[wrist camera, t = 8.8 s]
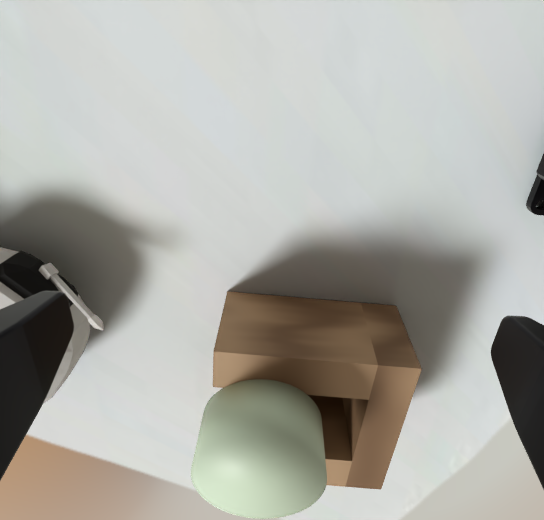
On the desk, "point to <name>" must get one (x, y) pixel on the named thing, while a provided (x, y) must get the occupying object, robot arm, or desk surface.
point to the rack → (327, 371)
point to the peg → (260, 450)
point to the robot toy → (44, 277)
